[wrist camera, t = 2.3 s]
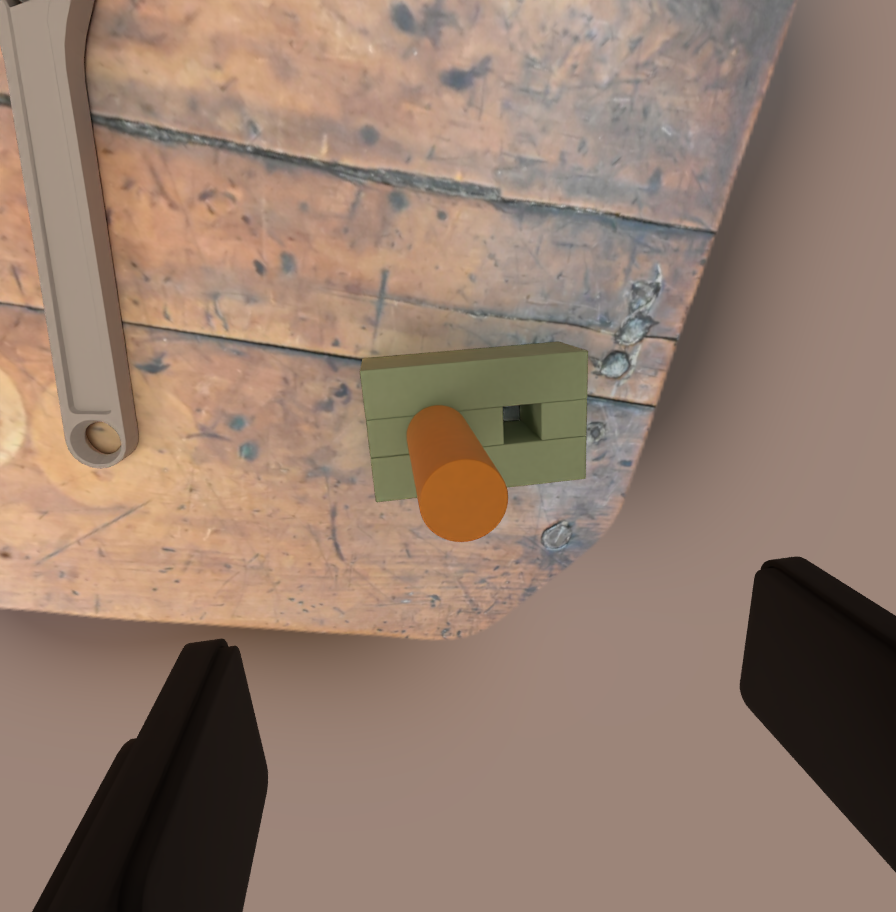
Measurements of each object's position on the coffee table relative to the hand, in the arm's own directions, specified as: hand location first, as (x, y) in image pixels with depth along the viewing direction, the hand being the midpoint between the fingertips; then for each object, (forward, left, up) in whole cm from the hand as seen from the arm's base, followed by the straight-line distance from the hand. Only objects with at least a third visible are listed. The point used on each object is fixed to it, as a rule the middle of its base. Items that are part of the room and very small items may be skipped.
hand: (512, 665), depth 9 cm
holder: (-2, 0, -19) cm, 19 cm away
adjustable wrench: (+15, -12, -19) cm, 27 cm away
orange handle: (0, 0, -19) cm, 19 cm away
